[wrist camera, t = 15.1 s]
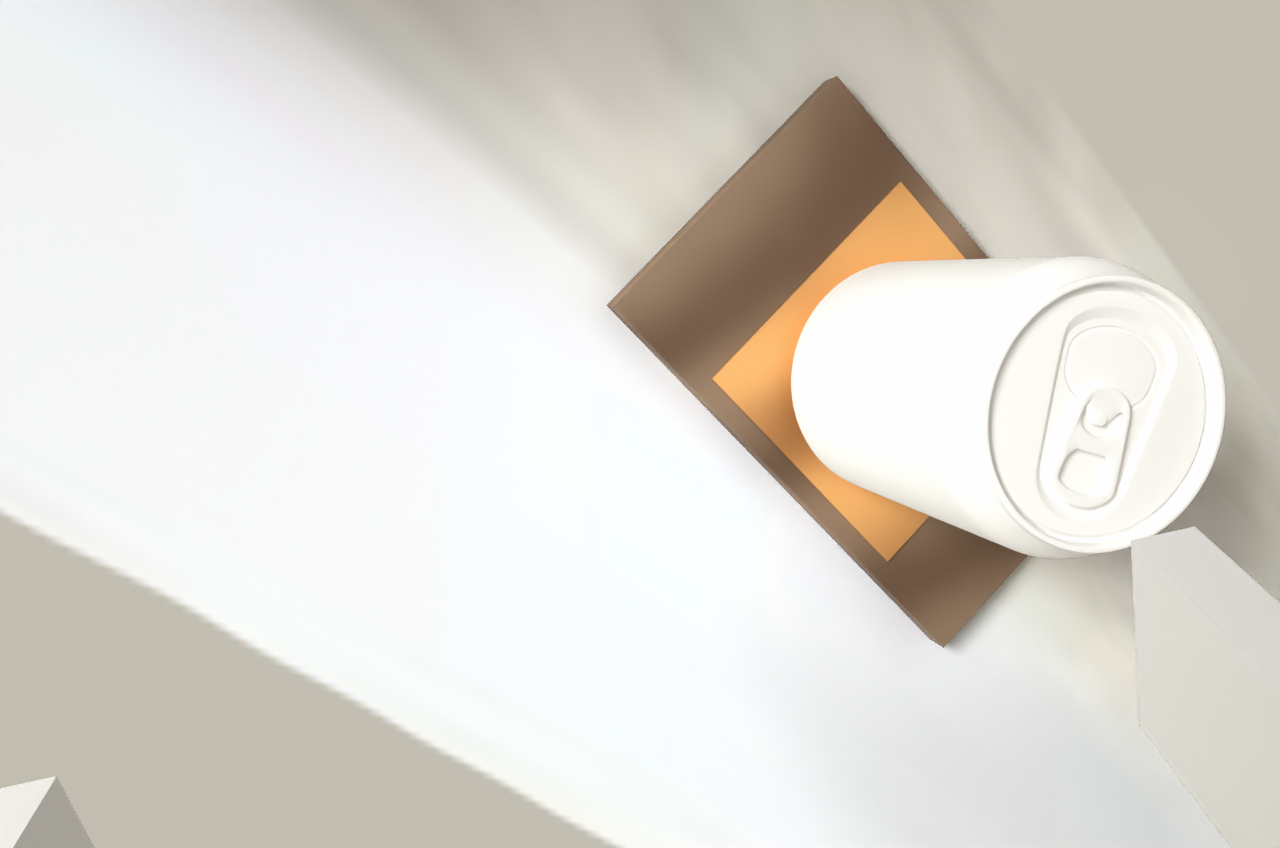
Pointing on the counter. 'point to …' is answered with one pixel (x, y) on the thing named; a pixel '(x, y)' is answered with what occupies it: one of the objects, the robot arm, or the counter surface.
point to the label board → (776, 314)
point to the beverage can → (1015, 397)
